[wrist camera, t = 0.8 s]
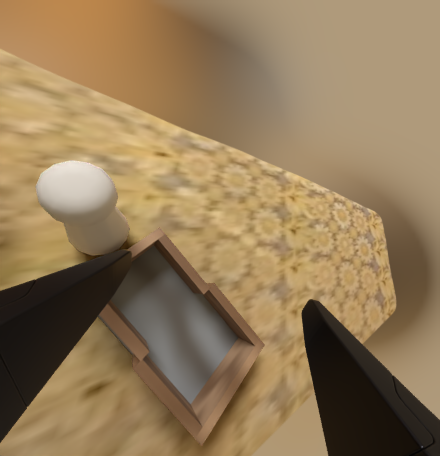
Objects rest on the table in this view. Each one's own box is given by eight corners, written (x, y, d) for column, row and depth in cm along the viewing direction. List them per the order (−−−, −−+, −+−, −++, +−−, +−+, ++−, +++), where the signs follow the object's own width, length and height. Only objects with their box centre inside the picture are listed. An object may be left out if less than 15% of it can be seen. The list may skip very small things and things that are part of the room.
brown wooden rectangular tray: (188, 417, 22) (201, 446, 18) (76, 291, 20) (64, 292, 16) (245, 336, 27) (264, 344, 23) (159, 232, 26) (165, 223, 22)
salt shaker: (137, 223, 25) (144, 173, 14) (115, 265, 23) (102, 246, 11) (89, 204, 23) (52, 127, 12) (61, 246, 21) (-19, 202, 10)
